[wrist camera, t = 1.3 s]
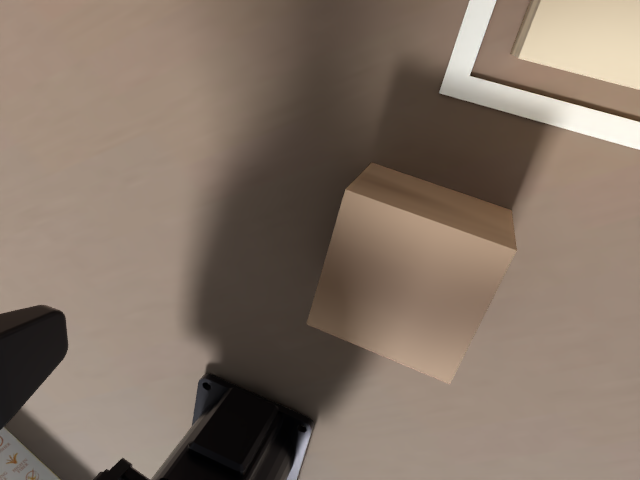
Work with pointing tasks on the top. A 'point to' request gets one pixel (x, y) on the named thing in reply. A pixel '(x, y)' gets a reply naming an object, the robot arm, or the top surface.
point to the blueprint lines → (519, 100)
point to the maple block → (584, 38)
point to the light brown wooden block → (412, 269)
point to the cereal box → (20, 461)
